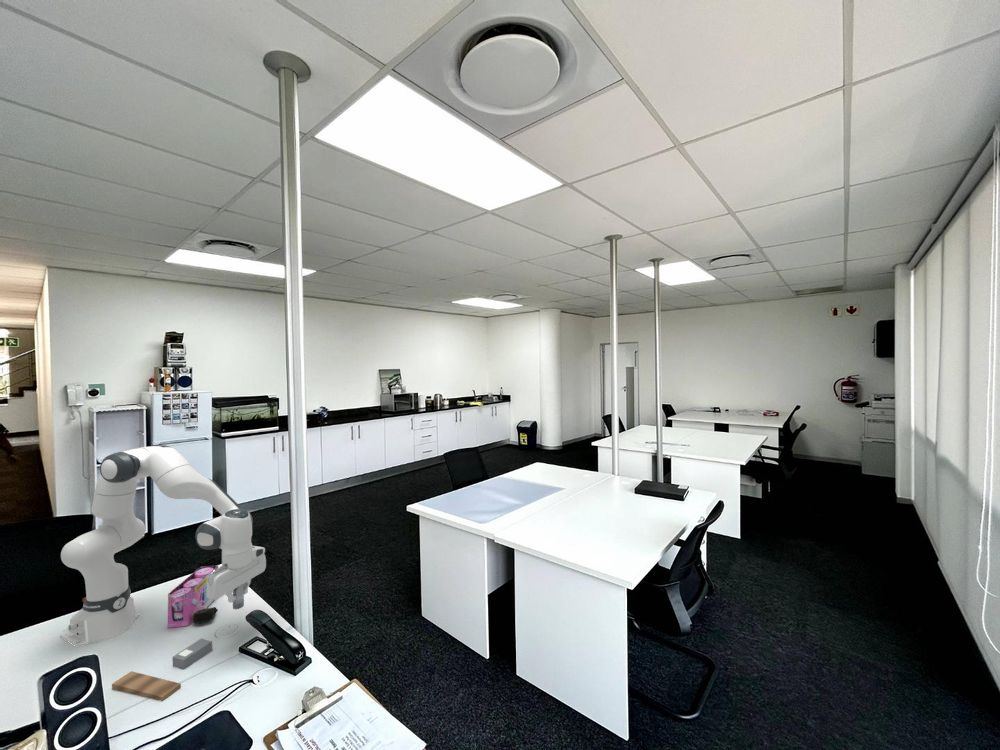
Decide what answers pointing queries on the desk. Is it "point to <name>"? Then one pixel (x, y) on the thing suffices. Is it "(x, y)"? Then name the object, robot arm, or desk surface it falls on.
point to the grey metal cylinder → (239, 597)
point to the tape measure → (204, 614)
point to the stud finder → (192, 653)
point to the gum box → (189, 598)
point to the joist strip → (146, 686)
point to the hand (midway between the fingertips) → (238, 597)
